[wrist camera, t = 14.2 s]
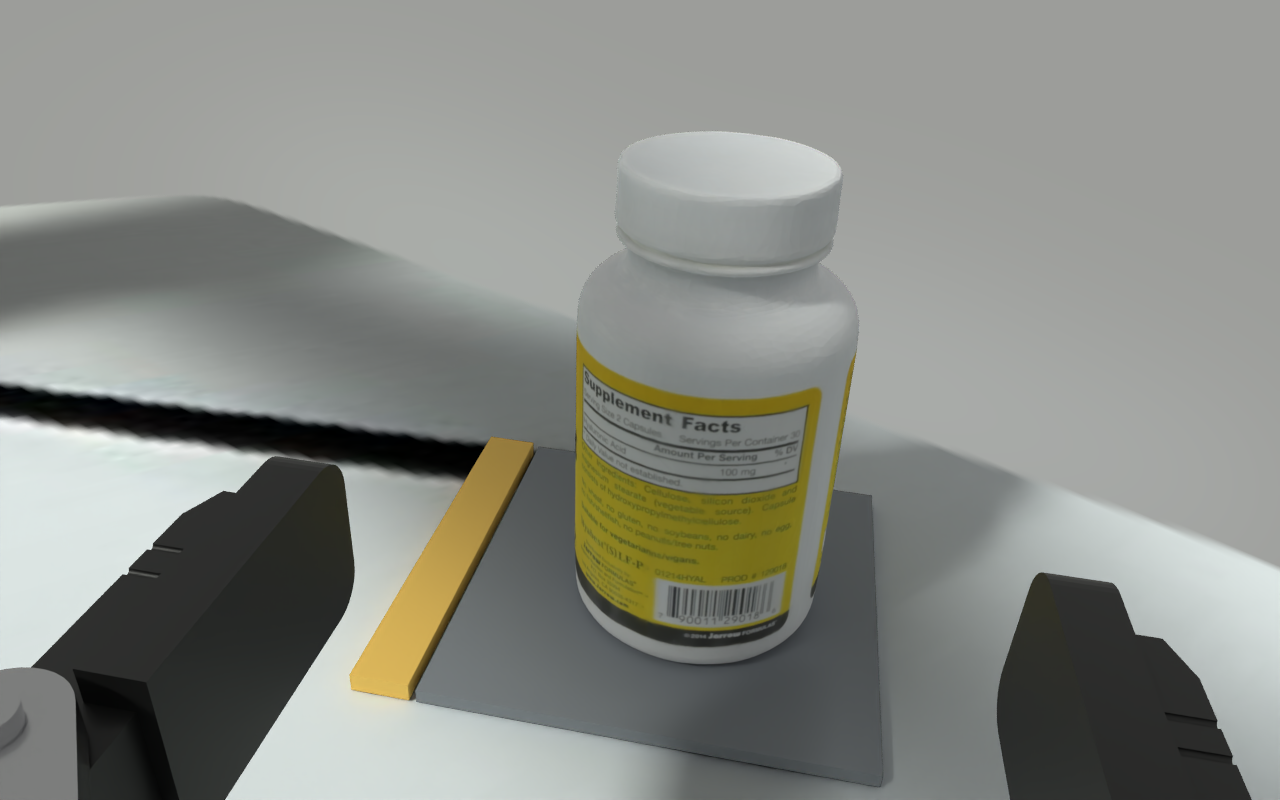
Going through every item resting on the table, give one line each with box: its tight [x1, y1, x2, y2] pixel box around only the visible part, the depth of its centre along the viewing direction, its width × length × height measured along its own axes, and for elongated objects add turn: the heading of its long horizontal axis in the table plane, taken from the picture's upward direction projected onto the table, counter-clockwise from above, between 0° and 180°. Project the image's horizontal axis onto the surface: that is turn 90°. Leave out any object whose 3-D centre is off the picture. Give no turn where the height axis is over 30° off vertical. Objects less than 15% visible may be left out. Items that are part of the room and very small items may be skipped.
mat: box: [350, 437, 883, 787], centre depth 22 cm, size 10×9×1 cm
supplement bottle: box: [575, 131, 859, 664], centre depth 20 cm, size 5×5×10 cm
